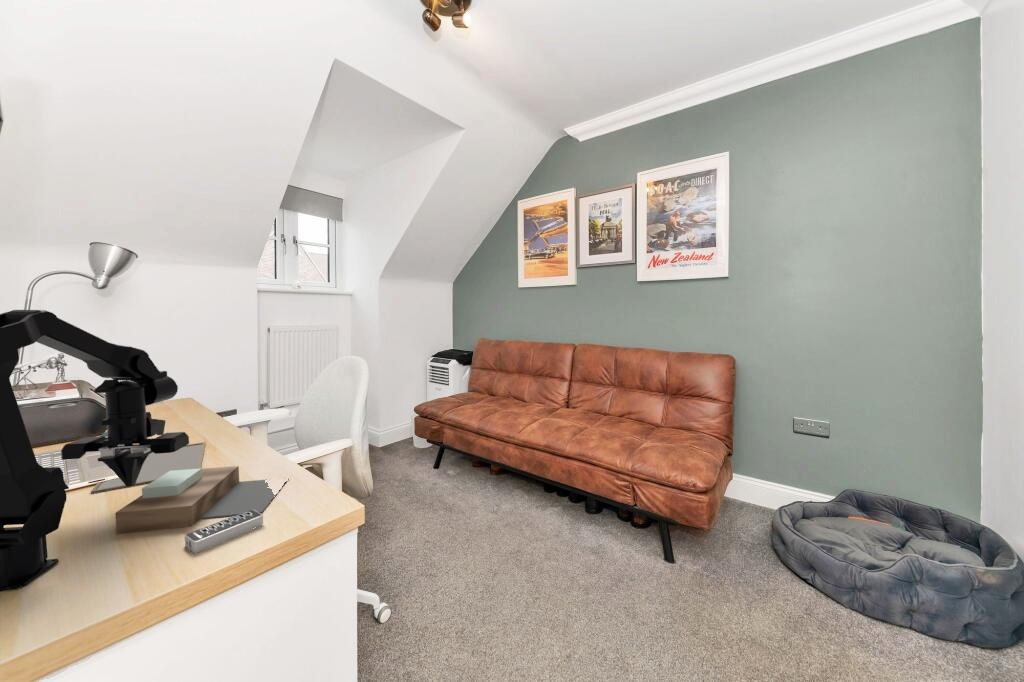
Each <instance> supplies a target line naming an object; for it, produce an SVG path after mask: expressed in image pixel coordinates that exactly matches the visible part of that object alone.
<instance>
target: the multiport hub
mask: <svg viewBox="0 0 1024 682" xmlns="http://www.w3.org/2000/svg"><path fill="white" fill-rule="evenodd" d="M262 524H263V525H264V515H263V513H259V512H257V511H255V510H249V511H246V512H243V513H241V514H238V515H235V516H229V517H227V518H225V519H223V520H220V521H218V522H217V521H216V522H215V523H213V524H212V523H211V524H210V525H207V526H204V527H202V528H201V527H200V528H198V529H196V530H193V531H191V532H189V533H186V534H184V543H185V544H184V545H185V547H186V548H187V549H188V550H189V551H191V552H192V553H193V554H197V553H200V552H202V551H205V550H207V549H209V548H212V547H214V546H216V545H219V544H221V543H223V541H224V542H226V541H229V540H231V539H234V538H235V536H236V537H237V535H238V536H241V535H242V533H243V534H245V533H247V532H246V531H248V532H250V531H252V530H251V529H253V528H255V527H257V528H259V527H258V526H260V525H262ZM263 525H262V526H263ZM260 527H261V526H260ZM255 529H256V528H255ZM249 530H250V531H249ZM253 530H254V529H253ZM240 534H241V535H240ZM230 538H231V539H230ZM228 539H229V540H228ZM225 540H226V541H225Z"/></svg>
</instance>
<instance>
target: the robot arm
mask: <svg viewBox="0 0 1024 682" xmlns="http://www.w3.org/2000/svg"><path fill="white" fill-rule="evenodd" d="M35 343H38V344H41V345H42V346H45V347H48V348H51V349H53V350H56V351H58V352H60V353H63V354H65V355H67V356H71V357H73V358H75V359H78V360H80V361H82V362H84V363H85V364H86V367H87V368H88V370H90V372H93V373H94V374H96V375H97V376H99V377H101V378H103V379H104V380H103V382H102V383H101V384H100V385H98V386H97V387H96V388H95V389H94V390H93V391H94V393H96V394H104V396H105V397H104V398H105V400H104V401H105V413H106V418H104V419H101V420H100V421H101V426H106V429H107V431H106V432H107V437H105V436H104V435H101V436H88V437H87V436H86V437H84V436H83V437H81V438H79V439H77V440H74V441H71V442H68V443H65V444H64V445H63V447H62V448H61V450H60V455H61V457H60V458H61V460H63V461H65V460H66V461H67V460H78V459H81V458H83V456H85V455H86V453H91V452H92V453H93V452H99V453H100V457H98V458H97V461H98V462H102V463H103V464H105V465H106V466H107V467H108V469H109V468H110V469H112V470H113V471H114V472H115V474H116V475H117V476H118V477H119V478H120V479H121V480H122V482H123V483H124V484H125V485H126V486H127V487H126V488H131V487H134V486H133V485H135V483H136V481H137V478H138V476H139V473H140V471H141V468H142V466H143V463H144V462H145V460H146V458H147V457H148V455H149V454H151V453H153V452H154V453H155V454H159V453H171V452H175V451H177V450H179V449H181V448H182V447H184V446H186V445H189V444H190V436H189V435H188V434H187V433H186V432H185V431H177V432H165V427H166V420H164V419H159V418H152V414H151V412H150V411H147V409H146V406H150V405H153V404H154V405H155V404H158V403H162V402H164V401H167V400H168V401H169V400H171V399H173V398H175V396H176V395H177V394H178V389H179V387H178V384H177V382H176V380H174V379H173V378H172V377H170V376H169V375H168V371H167V370H159V368H158V367H157V366H156V365H155V363H154V362H153V361H152V359H151V358H150V355H149V353H148V352H146V351H145V350H144V349H140V348H136V347H133V346H129V345H122V344H116V343H112V342H108V341H107V340H105V339H103V338H101V337H99V336H97V335H95V334H93V333H90V332H89V331H86V330H84V329H81V328H80V327H77V326H76V325H73V324H72V323H70V322H68V321H65V320H63V319H61V318H59V317H57V315H56V314H55V313H54V312H52V311H48V310H45V309H13V310H10V311H6V312H2V313H0V591H6V590H12V589H13V590H14V589H19V588H22V587H24V586H25V585H27V584H28V583H30V582H31V581H33V580H34V579H36V578H37V577H38V576H40V575H42V574H43V573H45V572H47V570H49V569H51V568H52V567H53V566H55V565H56V564H58V563H59V558H50V559H48V547H47V545H48V544H47V543H48V542H47V535H49V534H52V533H53V532H55V531H57V530H58V529H59V528H60V524H61V520H62V515H63V512H64V509H65V504H66V502H67V497H68V496H67V491H66V490H69V488H70V487H69V485H67V483H66V482H65V479H64V472H63V470H62V468H61V467H59V466H55V467H54V466H53V467H43V466H42V465H40V464H39V462H38V461H37V458H36V454H35V452H34V449H33V445H32V443H31V440H30V437H29V434H28V431H27V429H26V428H27V427H26V425H25V423H24V419H23V416H22V414H21V410H20V407H19V405H18V402H17V399H16V395H15V391H14V389H13V387H12V384H11V376H12V374H13V372H14V370H15V368H16V367H17V365H18V363H19V361H20V357H19V356H20V355H19V349H22V348H25V347H28V346H31V345H33V344H35ZM156 435H157V437H154V436H156ZM150 437H153V438H150ZM15 525H22V526H15ZM5 526H6V527H5ZM7 526H8V527H7ZM9 526H10V527H9Z"/></svg>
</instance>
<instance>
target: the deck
mask: <svg viewBox="0 0 1024 682" xmlns="http://www.w3.org/2000/svg"><path fill="white" fill-rule="evenodd" d="M239 469H240V468H239V465H232V466H222V467H206V468H202V478H200V479H199V480H198V481H196V482H195V483H194V484H192V485H191V486H190V487H188V488H187V489H186V490H184V491H183V492H182V493H180V494H179V495H175V496H164V497H152V498H142V495H140V496H138V497H137V498H135V499H133V501H131V502H129V503H128V504H126V505H125V506H123V507H122V508H119V510H117V511H116V512H115V513H114V514H115V515H114V516H115V525H116V526H115V528H116V529H115V530H116V535H119V534H128V533H129V534H130V533H136V532H137V533H139V532H145V531H146V532H147V531H155V530H156V531H157V530H166V529H175V528H176V529H177V528H185V527H186V528H187V527H194V525H195V524H196V523H198V522H199V521H200V520H201V519H200V517H201V516H202V515H203V514H204V513H205V512H206V511H207V510H209V509H210V508H211V507H212V506H213V505H214V504H215V503H216V502H217V501H218V500H219V499H220V498H221V497H223V496H224V495H225V494H226V493H227V492H228V491H229V490H230V489H231V488H232V487H233V486H234V485H235V484H237V483H238V482H240V470H239Z"/></svg>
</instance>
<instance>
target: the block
mask: <svg viewBox="0 0 1024 682" xmlns="http://www.w3.org/2000/svg"><path fill="white" fill-rule="evenodd" d="M202 469H203V468H202V467H201V468H200V469H187V470H173V471H169V472H167V473H166V474H164V475H162V476H161V477H159V478H158V479H156V480H155V481H153V482H151V483H148V484H146V485H145V486H144V487H142V488H141V494H142V495H141V496H142V498H152V497H164V496H175V495H179V494H180V493H182V492H183V491H184V490H186V489H187V488H188V487H190V486H191V485H192V484H194V483H195V482H196V481H198V480H199V479H200V478H202Z"/></svg>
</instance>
